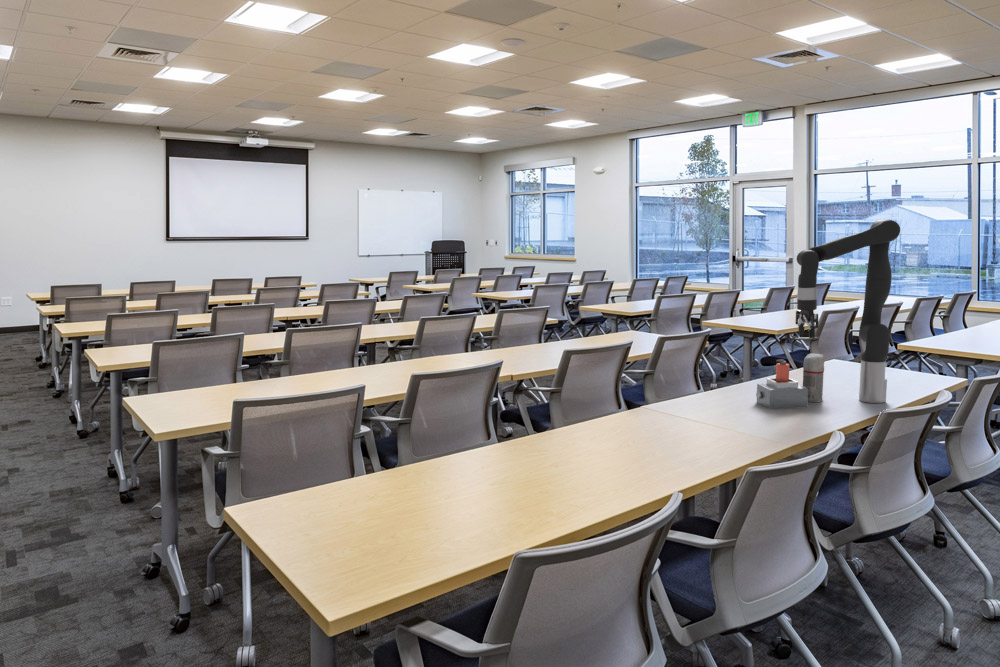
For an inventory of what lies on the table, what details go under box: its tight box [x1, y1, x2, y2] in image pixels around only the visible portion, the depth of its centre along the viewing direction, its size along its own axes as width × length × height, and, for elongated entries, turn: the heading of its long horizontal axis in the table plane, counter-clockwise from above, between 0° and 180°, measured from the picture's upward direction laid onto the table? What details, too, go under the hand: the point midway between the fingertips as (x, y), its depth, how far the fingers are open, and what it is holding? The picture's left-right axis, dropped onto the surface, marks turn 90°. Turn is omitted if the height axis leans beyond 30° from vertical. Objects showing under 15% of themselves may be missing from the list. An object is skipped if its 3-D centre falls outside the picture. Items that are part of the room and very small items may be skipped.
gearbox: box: [755, 377, 808, 410], centre depth 296 cm, size 17×12×10 cm
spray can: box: [802, 352, 826, 403], centre depth 301 cm, size 8×8×20 cm
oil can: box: [775, 359, 790, 382], centre depth 294 cm, size 5×5×11 cm
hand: (806, 336), depth 299 cm, fingers open, 8 cm apart
